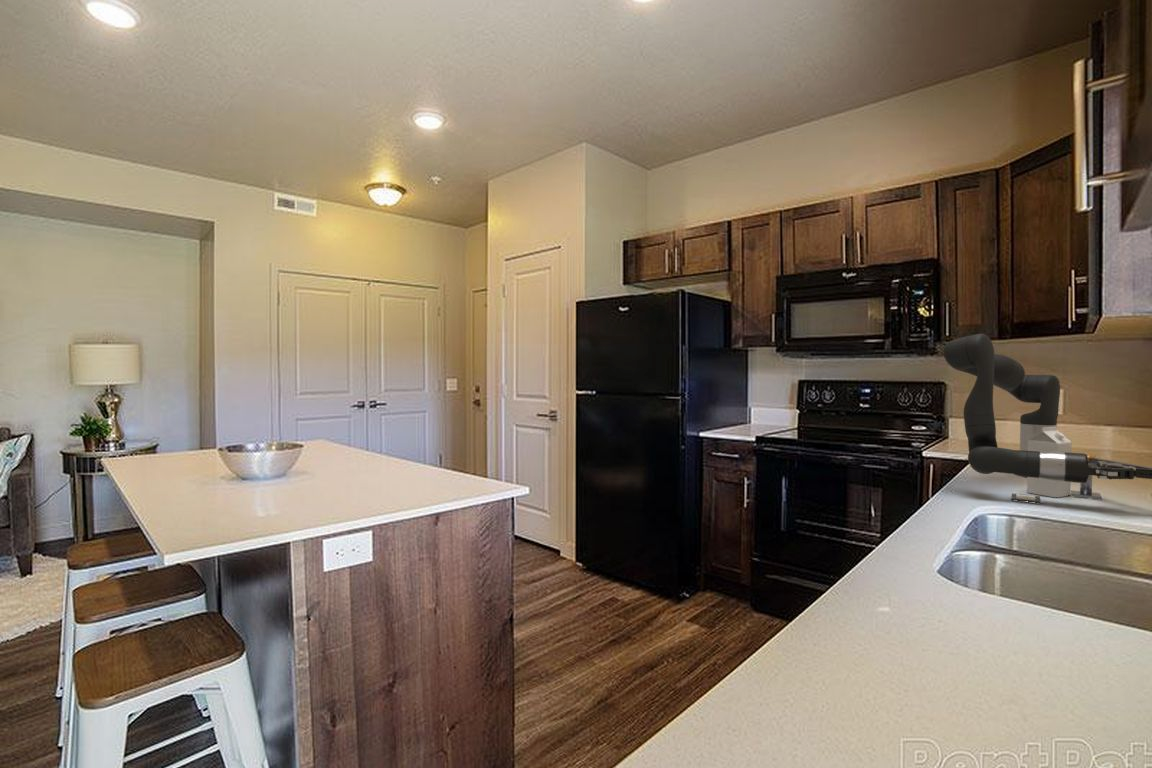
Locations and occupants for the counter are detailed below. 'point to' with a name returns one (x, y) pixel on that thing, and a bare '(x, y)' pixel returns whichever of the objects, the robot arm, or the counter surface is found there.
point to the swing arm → (1094, 460)
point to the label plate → (1026, 498)
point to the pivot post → (1086, 490)
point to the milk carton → (1044, 442)
